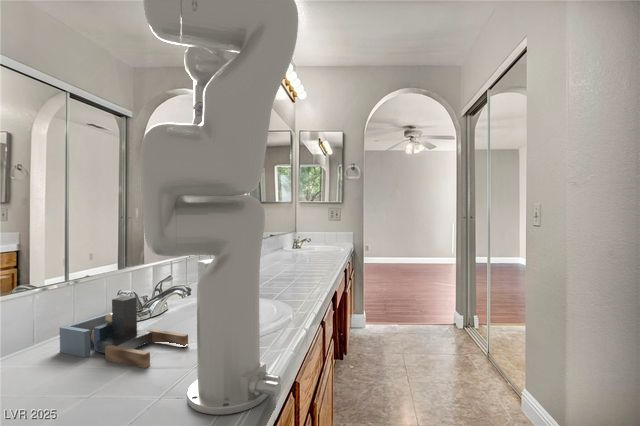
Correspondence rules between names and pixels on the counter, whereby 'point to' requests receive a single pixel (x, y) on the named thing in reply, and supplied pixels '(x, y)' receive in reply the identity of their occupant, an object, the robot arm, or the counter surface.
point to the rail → (139, 356)
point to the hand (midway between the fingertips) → (211, 189)
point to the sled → (121, 327)
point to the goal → (79, 336)
